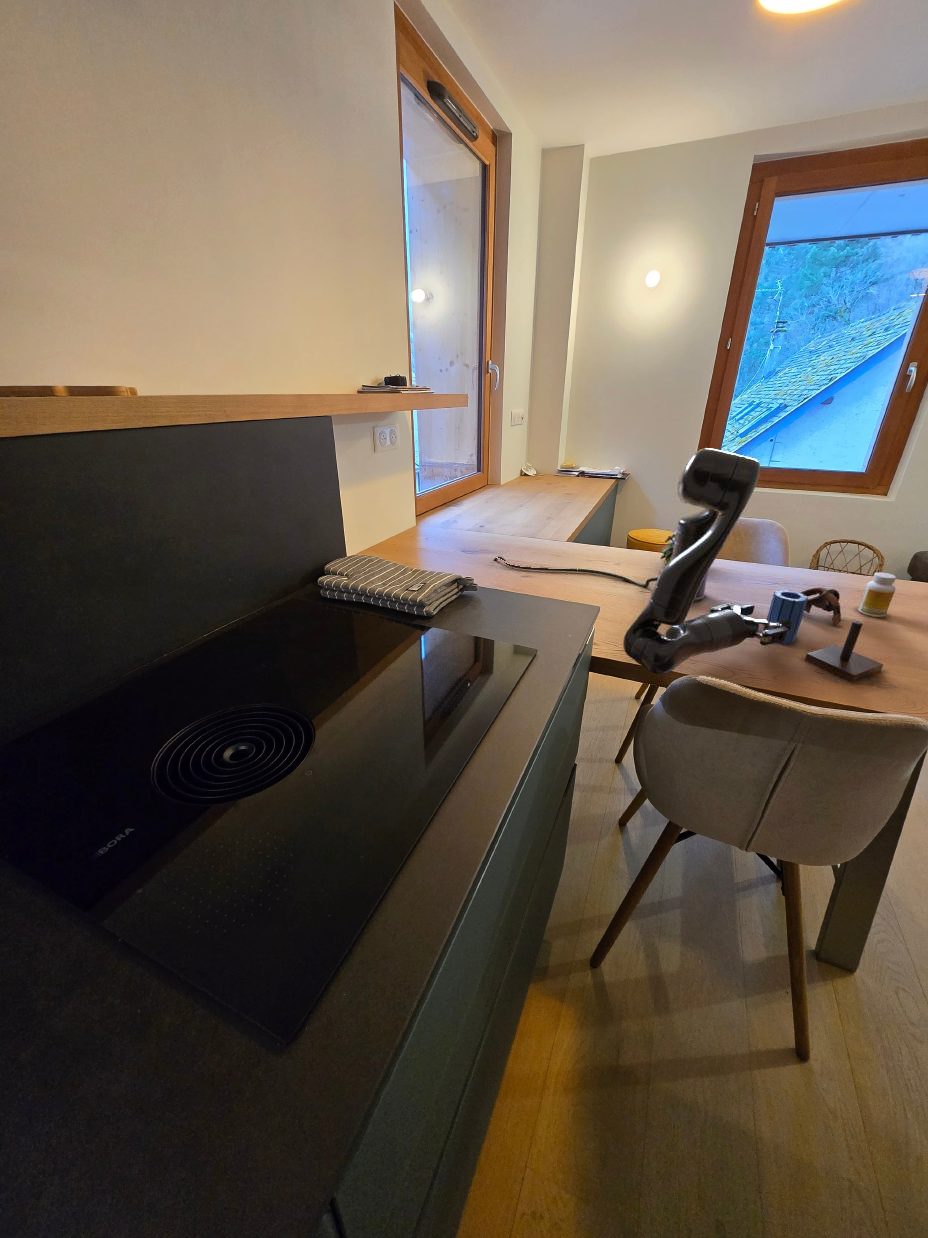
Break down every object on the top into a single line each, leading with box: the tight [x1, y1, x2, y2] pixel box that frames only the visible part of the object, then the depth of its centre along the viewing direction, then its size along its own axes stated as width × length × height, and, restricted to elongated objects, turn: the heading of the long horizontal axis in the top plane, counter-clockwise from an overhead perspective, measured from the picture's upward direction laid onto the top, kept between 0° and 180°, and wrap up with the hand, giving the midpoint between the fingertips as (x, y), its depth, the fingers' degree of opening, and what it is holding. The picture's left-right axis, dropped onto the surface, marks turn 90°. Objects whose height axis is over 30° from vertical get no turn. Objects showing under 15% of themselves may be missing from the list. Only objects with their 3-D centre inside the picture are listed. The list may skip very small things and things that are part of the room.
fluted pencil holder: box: [766, 589, 809, 644], centre depth 106 cm, size 6×6×10 cm
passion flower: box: [659, 533, 676, 567], centre depth 151 cm, size 11×11×12 cm
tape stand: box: [804, 620, 884, 682], centre depth 95 cm, size 9×9×10 cm
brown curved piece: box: [799, 587, 842, 627], centre depth 117 cm, size 12×10×8 cm
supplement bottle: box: [857, 572, 897, 618], centre depth 117 cm, size 5×5×10 cm
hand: (770, 616), depth 104 cm, fingers open, 8 cm apart
